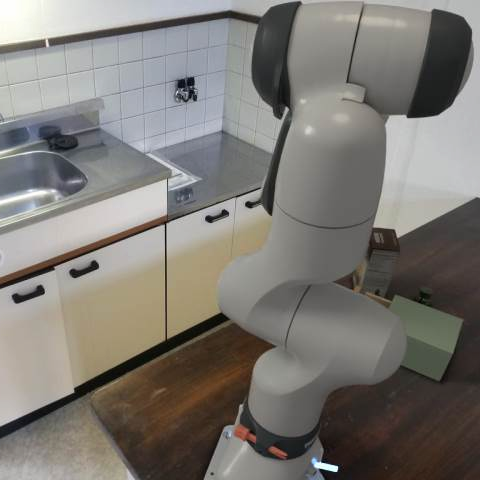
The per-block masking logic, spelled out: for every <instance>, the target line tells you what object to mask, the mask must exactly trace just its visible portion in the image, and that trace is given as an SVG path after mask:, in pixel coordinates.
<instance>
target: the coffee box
mask: <svg viewBox="0 0 480 480" xmlns="http://www.w3.org/2000/svg"><path fill="white" fill-rule="evenodd" d="M401 251H402V250H401V246H400V243H399V239H398V236H397V231H396V229H395V228H387V227H386V228H385V227H374V226H373V229H372V233H371V236H370V240H369V244H368V248H367V252H366V255H365V258H364V259H363V261H362V263H361V264H360V265H359V266H358V268H356V269H355V270H354V271H353V275H352V282H353V283H352V284H353V290H354V289H355V287H356V285H357V286H360V287H362V288H361V291H360V294H363V295H365V294H366V292H368V293H371V294H374V295H376V296H379V297H382V298H384V299H385V297H386V294H387V291H388V288H389V286H390V282H391V279H392V277H393V275H394V271H395V269H396V266H397V263H398V260H399V257H400V254H401Z"/></svg>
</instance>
